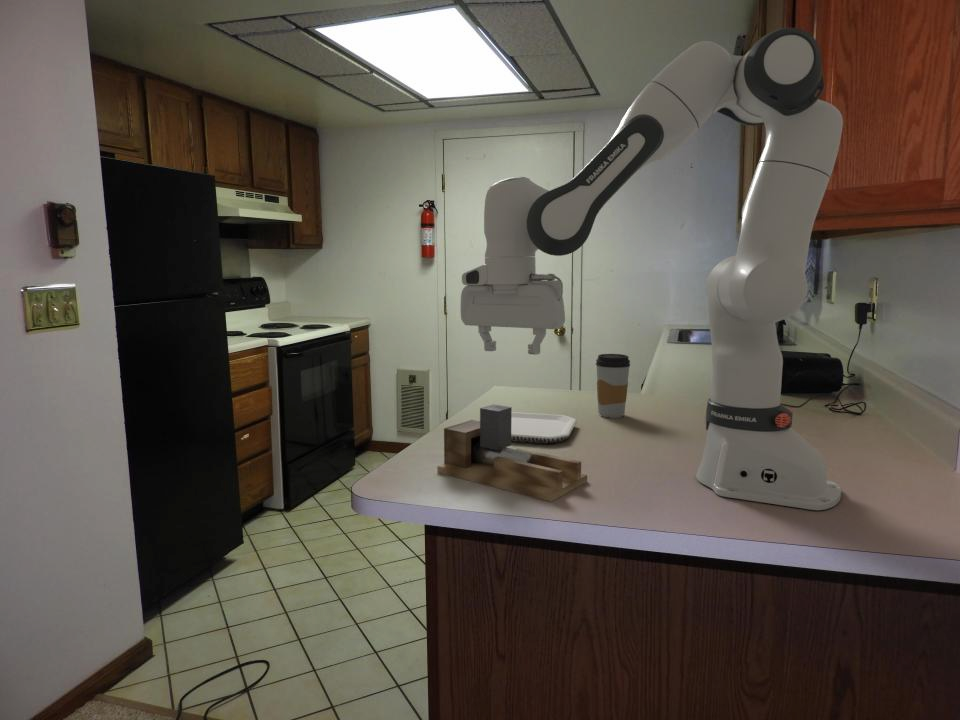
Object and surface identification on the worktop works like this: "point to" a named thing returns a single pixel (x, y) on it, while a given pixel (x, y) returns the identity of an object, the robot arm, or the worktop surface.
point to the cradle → (509, 467)
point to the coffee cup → (612, 384)
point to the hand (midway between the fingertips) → (511, 352)
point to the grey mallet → (496, 437)
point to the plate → (540, 427)
